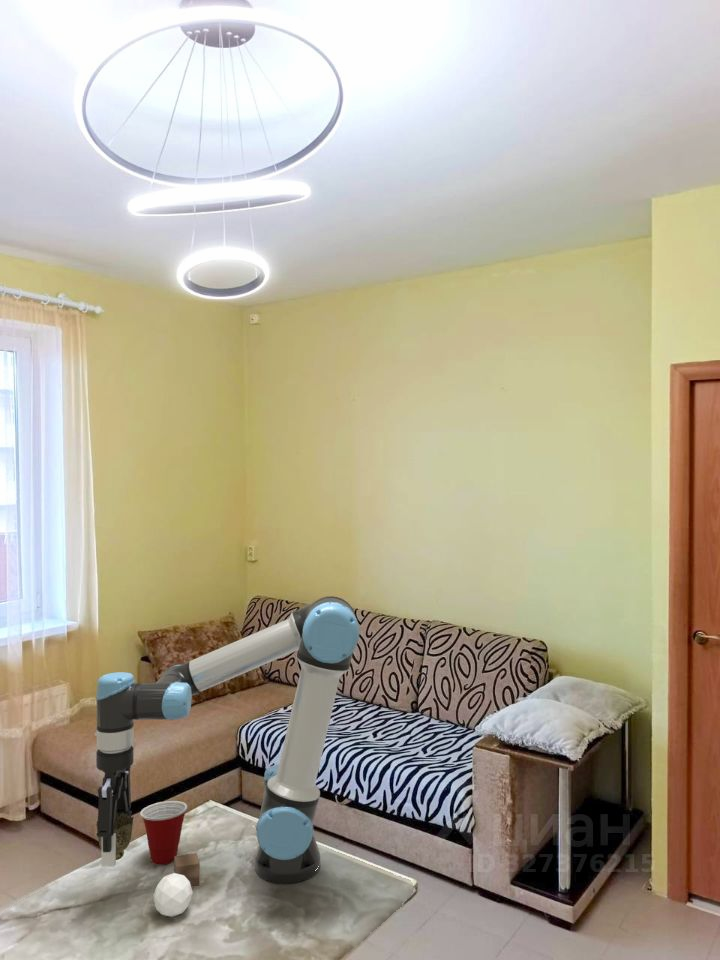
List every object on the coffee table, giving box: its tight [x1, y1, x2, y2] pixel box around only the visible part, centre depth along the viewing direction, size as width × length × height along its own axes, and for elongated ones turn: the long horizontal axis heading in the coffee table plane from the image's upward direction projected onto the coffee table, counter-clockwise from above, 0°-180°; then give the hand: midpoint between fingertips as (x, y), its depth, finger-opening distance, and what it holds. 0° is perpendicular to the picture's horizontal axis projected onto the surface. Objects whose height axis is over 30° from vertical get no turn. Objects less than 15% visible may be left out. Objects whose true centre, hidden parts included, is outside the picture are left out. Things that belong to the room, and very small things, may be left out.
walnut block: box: [173, 852, 201, 888], centre depth 160 cm, size 5×5×5 cm
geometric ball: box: [152, 872, 194, 918], centre depth 148 cm, size 8×8×8 cm
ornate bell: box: [95, 813, 134, 861], centre depth 152 cm, size 8×7×8 cm
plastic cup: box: [140, 800, 188, 866], centre depth 170 cm, size 11×11×12 cm
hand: (114, 856), depth 152 cm, fingers closed on ornate bell, 7 cm apart
